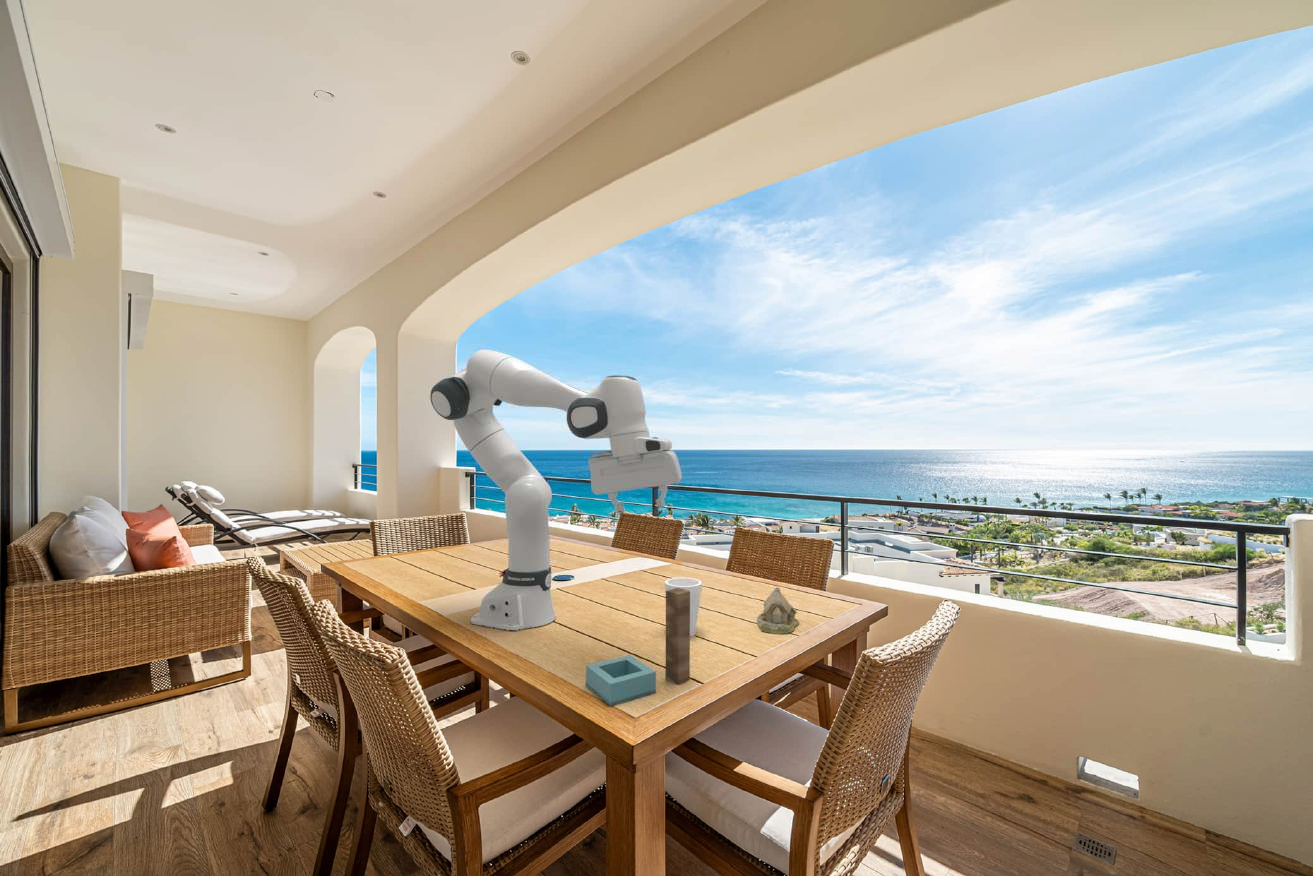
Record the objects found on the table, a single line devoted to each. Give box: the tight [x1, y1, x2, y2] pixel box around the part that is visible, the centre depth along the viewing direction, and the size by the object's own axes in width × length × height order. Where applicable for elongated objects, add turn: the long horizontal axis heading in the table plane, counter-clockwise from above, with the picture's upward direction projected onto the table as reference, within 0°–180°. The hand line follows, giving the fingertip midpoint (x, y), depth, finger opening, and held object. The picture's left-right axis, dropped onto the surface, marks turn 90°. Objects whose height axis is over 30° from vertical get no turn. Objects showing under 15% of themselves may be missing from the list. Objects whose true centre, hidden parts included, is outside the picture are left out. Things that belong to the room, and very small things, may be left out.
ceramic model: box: [756, 587, 800, 635], centre depth 143 cm, size 14×11×10 cm
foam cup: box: [664, 577, 703, 638], centre depth 136 cm, size 10×9×13 cm
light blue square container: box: [585, 654, 657, 707], centre depth 105 cm, size 10×10×4 cm
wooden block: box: [665, 588, 691, 685], centre depth 109 cm, size 4×4×18 cm
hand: (640, 509), depth 117 cm, fingers open, 8 cm apart
